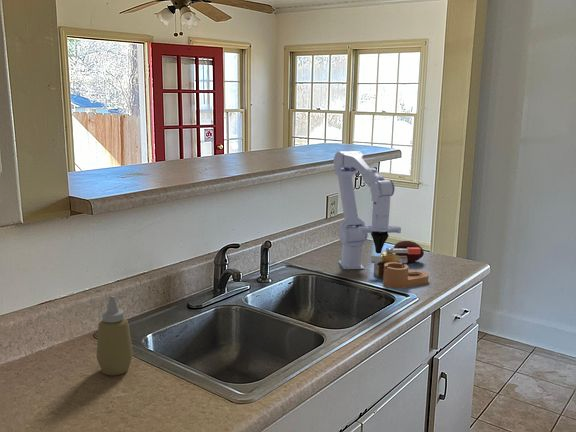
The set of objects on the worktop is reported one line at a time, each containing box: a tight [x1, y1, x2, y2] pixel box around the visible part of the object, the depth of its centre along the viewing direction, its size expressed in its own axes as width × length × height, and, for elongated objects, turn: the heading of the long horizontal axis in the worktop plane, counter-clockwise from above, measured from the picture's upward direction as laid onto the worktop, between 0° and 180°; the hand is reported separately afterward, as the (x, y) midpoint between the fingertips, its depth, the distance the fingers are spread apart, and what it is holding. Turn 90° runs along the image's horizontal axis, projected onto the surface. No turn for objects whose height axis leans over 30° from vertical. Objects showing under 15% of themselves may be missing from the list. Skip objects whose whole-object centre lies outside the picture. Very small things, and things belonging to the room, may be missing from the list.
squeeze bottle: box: [96, 295, 134, 376], centre depth 125 cm, size 8×8×18 cm
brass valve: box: [370, 251, 407, 279], centre depth 200 cm, size 6×13×8 cm, turn 97°
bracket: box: [382, 262, 429, 289], centre depth 193 cm, size 18×8×7 cm, turn 119°
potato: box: [393, 240, 425, 264], centre depth 218 cm, size 12×11×8 cm
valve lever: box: [385, 247, 421, 254], centre depth 199 cm, size 12×2×2 cm, turn 96°
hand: (378, 252), depth 192 cm, fingers closed
